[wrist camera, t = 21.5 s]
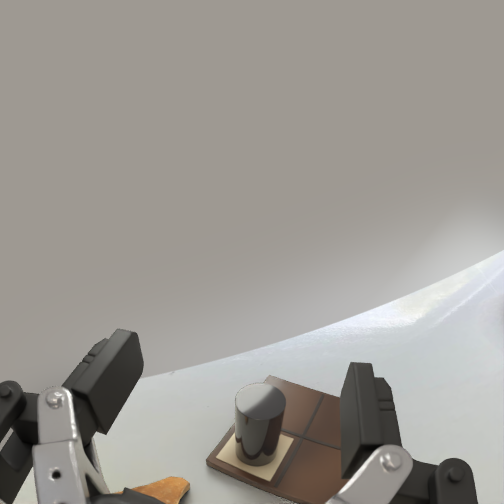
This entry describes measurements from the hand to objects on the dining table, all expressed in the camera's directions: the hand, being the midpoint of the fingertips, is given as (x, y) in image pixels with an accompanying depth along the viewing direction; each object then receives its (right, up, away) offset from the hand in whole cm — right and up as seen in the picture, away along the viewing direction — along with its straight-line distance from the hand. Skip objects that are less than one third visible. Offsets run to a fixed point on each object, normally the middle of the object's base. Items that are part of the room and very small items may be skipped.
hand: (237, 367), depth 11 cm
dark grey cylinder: (+1, -17, +19) cm, 26 cm away
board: (+6, -18, +22) cm, 29 cm away
